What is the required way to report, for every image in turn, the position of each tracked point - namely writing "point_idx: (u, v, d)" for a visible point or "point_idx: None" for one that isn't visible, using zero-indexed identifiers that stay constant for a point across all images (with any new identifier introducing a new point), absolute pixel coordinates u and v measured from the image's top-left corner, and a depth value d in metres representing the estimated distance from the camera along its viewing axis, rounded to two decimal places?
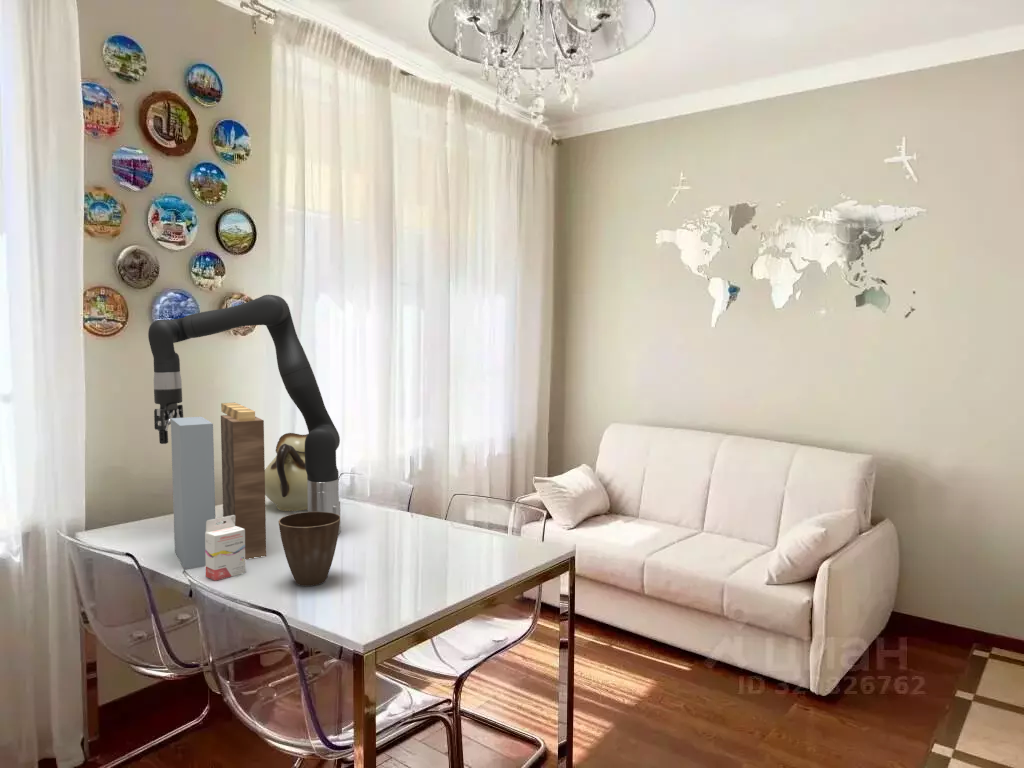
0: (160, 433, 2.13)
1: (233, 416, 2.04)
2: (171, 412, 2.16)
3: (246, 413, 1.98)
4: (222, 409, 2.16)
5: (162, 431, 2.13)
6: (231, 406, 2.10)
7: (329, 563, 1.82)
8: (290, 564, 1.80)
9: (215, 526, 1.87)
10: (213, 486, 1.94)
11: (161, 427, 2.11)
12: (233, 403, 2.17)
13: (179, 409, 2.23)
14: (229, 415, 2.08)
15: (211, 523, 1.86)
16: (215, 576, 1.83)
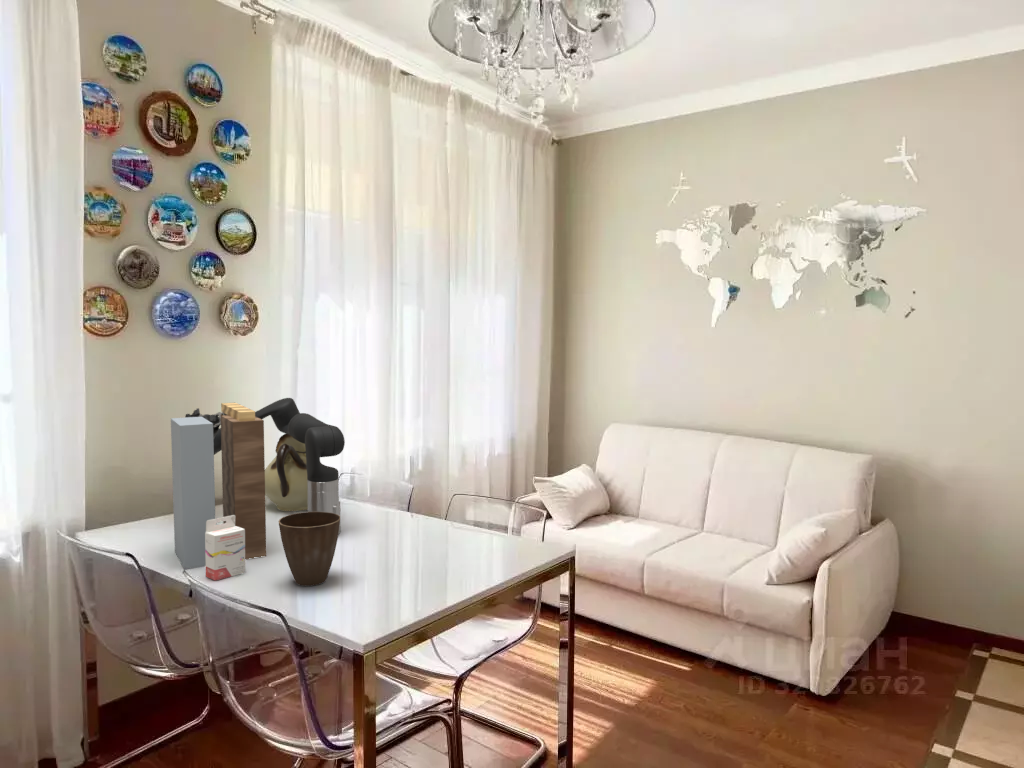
0: (193, 416, 2.27)
1: (233, 416, 2.04)
2: None
3: (246, 413, 1.98)
4: (222, 409, 2.16)
5: (192, 415, 2.27)
6: (231, 406, 2.10)
7: (329, 563, 1.82)
8: (290, 564, 1.80)
9: (215, 526, 1.87)
10: (213, 486, 1.94)
11: (186, 416, 2.27)
12: (233, 403, 2.17)
13: None
14: (229, 415, 2.08)
15: (211, 523, 1.86)
16: (215, 576, 1.83)
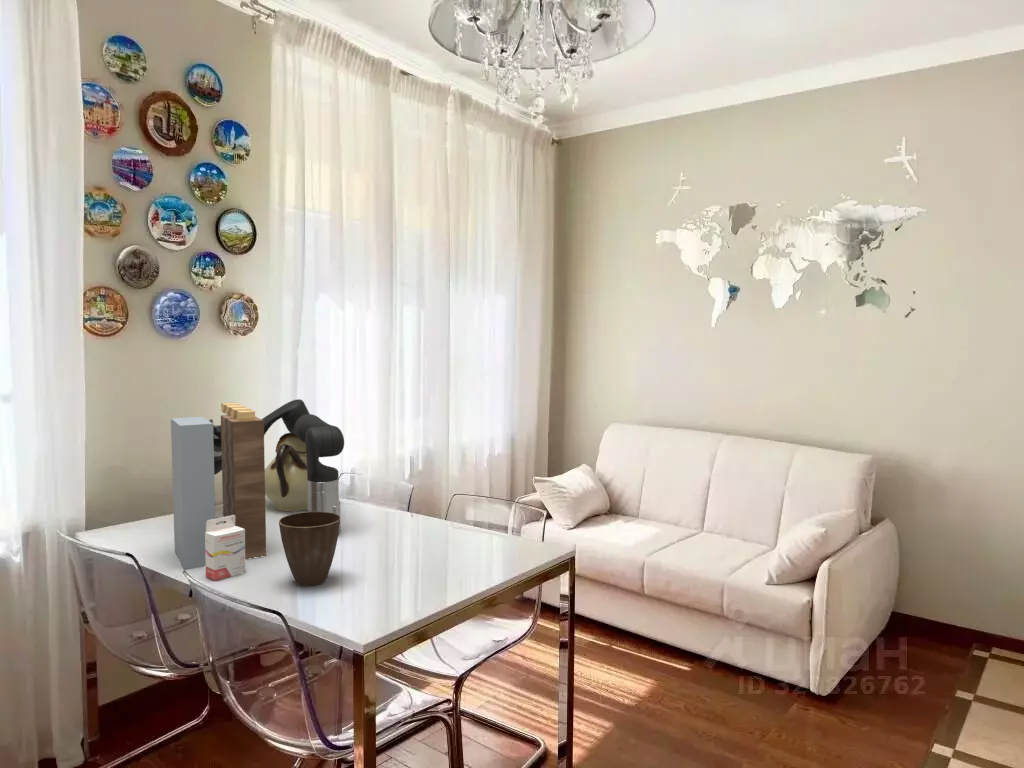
0: None
1: (233, 416, 2.04)
2: None
3: (246, 413, 1.98)
4: (222, 409, 2.16)
5: None
6: (231, 406, 2.10)
7: (329, 563, 1.82)
8: (290, 564, 1.80)
9: (215, 526, 1.87)
10: (213, 486, 1.94)
11: None
12: (233, 403, 2.17)
13: None
14: (229, 415, 2.08)
15: (211, 523, 1.86)
16: (215, 576, 1.83)
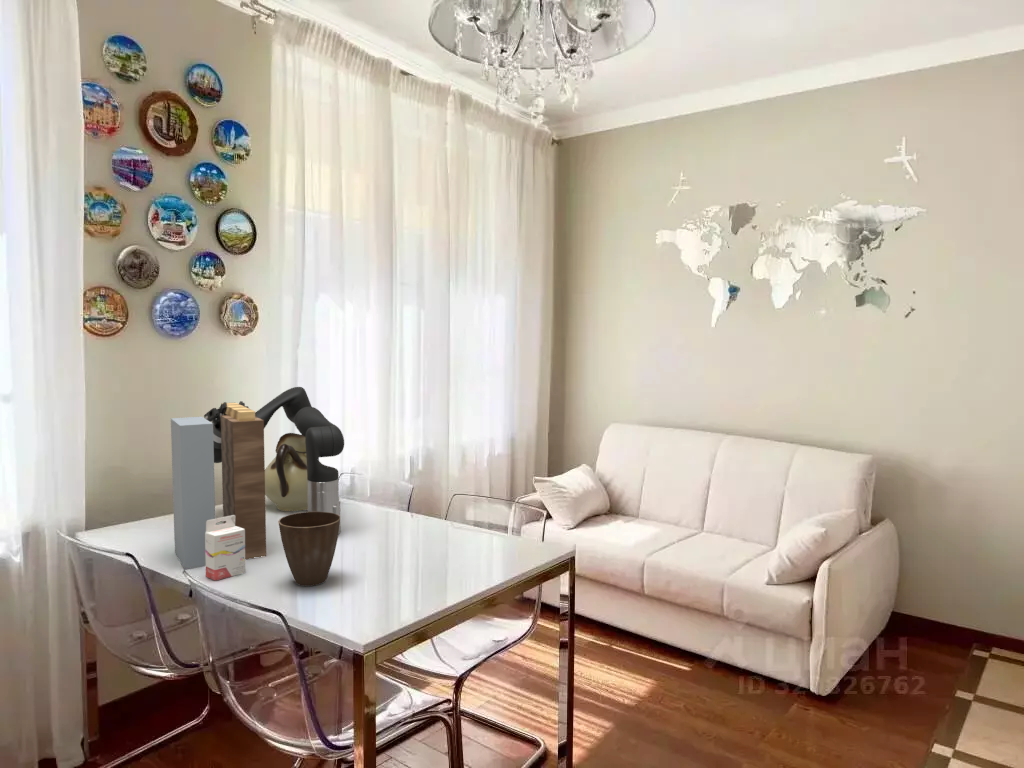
0: (220, 410, 2.12)
1: (233, 416, 2.04)
2: None
3: (246, 413, 1.98)
4: None
5: (219, 409, 2.13)
6: (231, 406, 2.09)
7: (329, 563, 1.82)
8: (290, 564, 1.80)
9: (215, 526, 1.87)
10: (213, 486, 1.94)
11: (212, 410, 2.13)
12: (233, 403, 2.17)
13: None
14: (229, 415, 2.08)
15: (211, 523, 1.86)
16: (215, 576, 1.83)
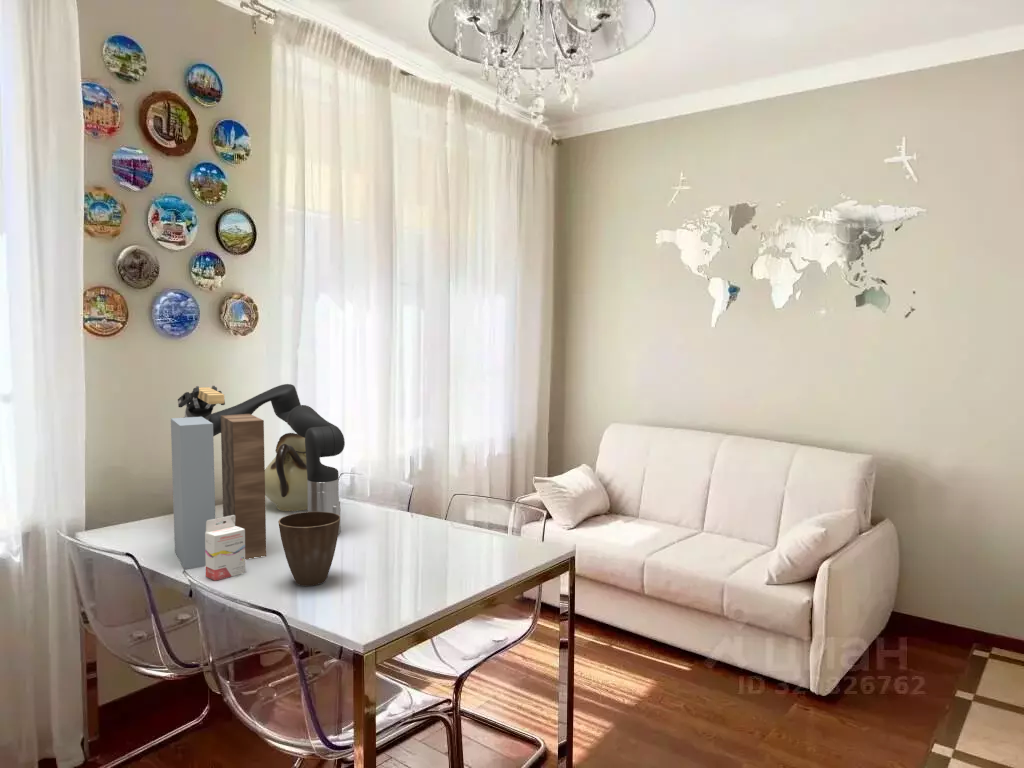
0: (192, 395, 2.18)
1: (204, 399, 2.09)
2: None
3: (215, 396, 2.03)
4: None
5: (191, 393, 2.18)
6: (203, 390, 2.15)
7: (329, 563, 1.82)
8: (290, 564, 1.80)
9: (215, 526, 1.87)
10: (213, 486, 1.94)
11: (185, 394, 2.19)
12: None
13: None
14: (201, 399, 2.13)
15: (211, 523, 1.86)
16: (215, 576, 1.83)
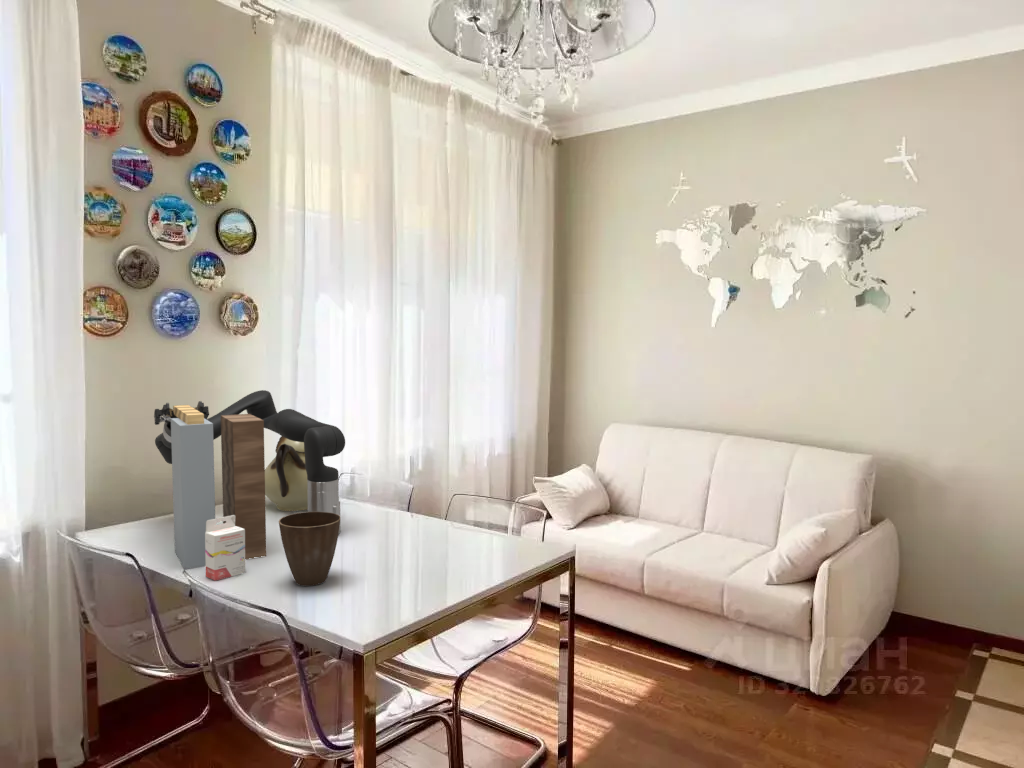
0: (163, 411, 2.05)
1: (182, 419, 1.97)
2: None
3: (194, 416, 1.91)
4: (174, 412, 2.09)
5: (161, 410, 2.06)
6: (182, 409, 2.03)
7: (330, 563, 1.82)
8: (290, 564, 1.80)
9: (215, 526, 1.87)
10: (213, 486, 1.94)
11: None
12: (185, 405, 2.10)
13: None
14: (179, 418, 2.01)
15: (211, 523, 1.86)
16: (215, 576, 1.83)
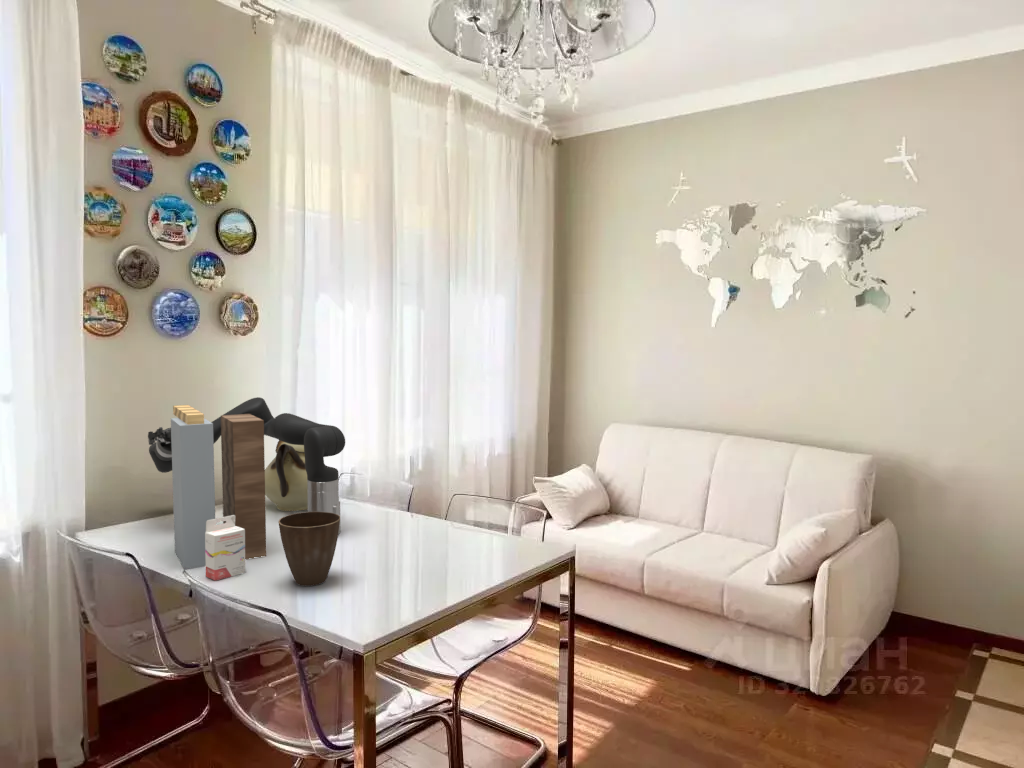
0: (156, 435, 2.13)
1: (182, 419, 1.97)
2: None
3: (194, 416, 1.91)
4: (174, 412, 2.09)
5: (155, 433, 2.14)
6: (182, 409, 2.03)
7: (329, 563, 1.82)
8: (290, 564, 1.80)
9: (215, 526, 1.87)
10: (213, 486, 1.94)
11: (148, 433, 2.14)
12: (185, 405, 2.10)
13: None
14: (179, 418, 2.01)
15: (211, 523, 1.86)
16: (215, 576, 1.83)
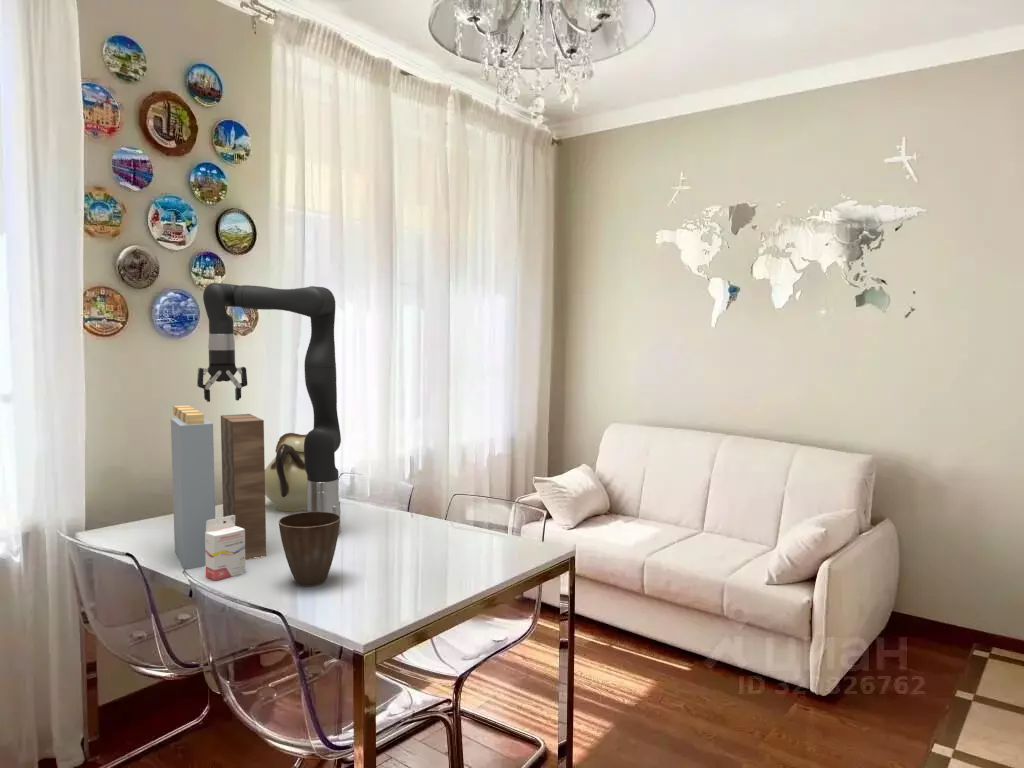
0: (204, 391, 2.24)
1: (182, 419, 1.97)
2: (216, 372, 2.23)
3: (194, 416, 1.91)
4: (174, 412, 2.09)
5: (204, 389, 2.23)
6: (182, 409, 2.03)
7: (329, 563, 1.82)
8: (290, 564, 1.80)
9: (215, 526, 1.87)
10: (213, 486, 1.94)
11: (198, 385, 2.22)
12: (185, 405, 2.10)
13: (241, 371, 2.28)
14: (179, 418, 2.01)
15: (211, 523, 1.86)
16: (215, 576, 1.83)
